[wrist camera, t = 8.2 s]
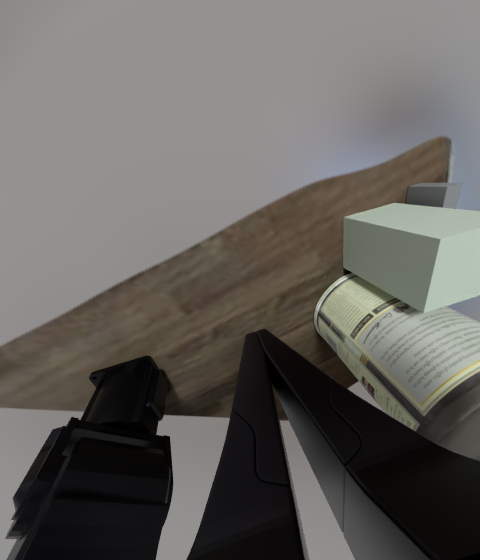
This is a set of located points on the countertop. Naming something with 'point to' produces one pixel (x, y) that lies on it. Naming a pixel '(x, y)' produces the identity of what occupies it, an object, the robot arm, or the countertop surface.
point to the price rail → (434, 194)
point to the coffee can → (408, 359)
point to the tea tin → (416, 253)
